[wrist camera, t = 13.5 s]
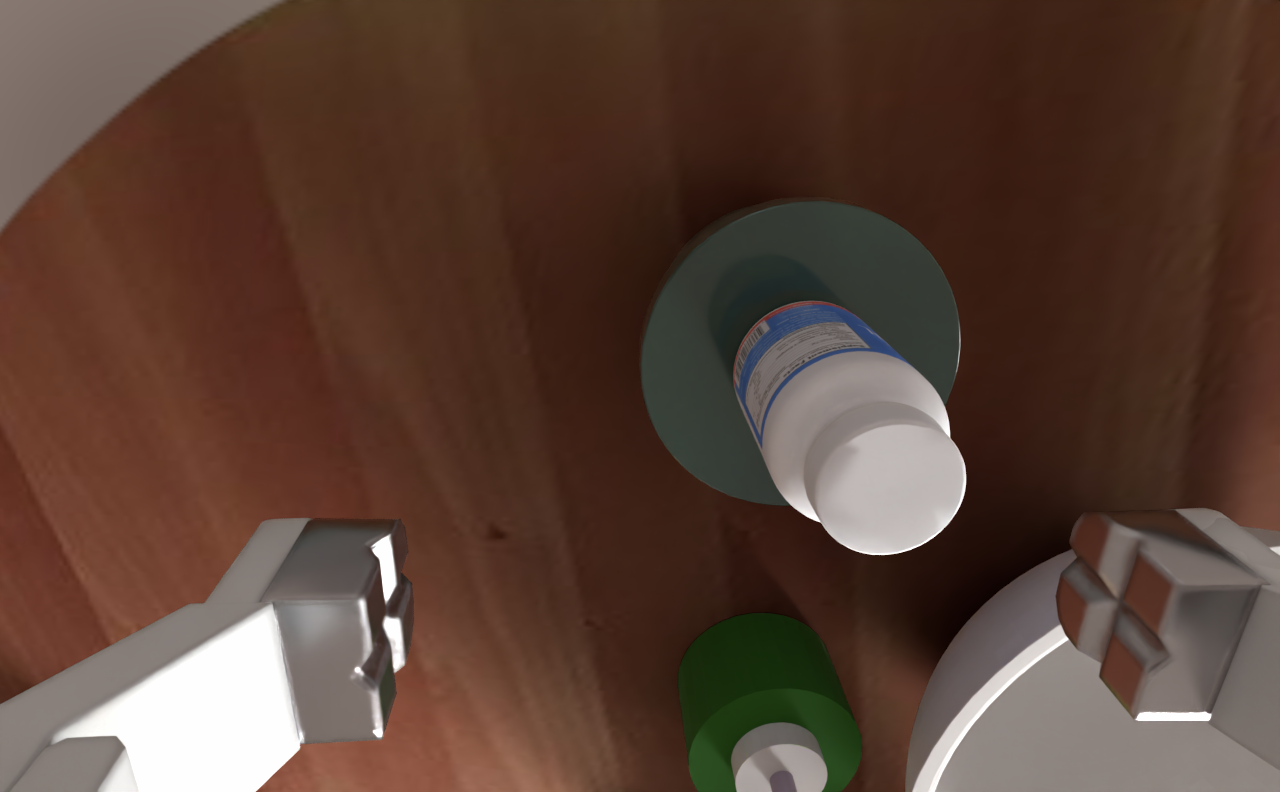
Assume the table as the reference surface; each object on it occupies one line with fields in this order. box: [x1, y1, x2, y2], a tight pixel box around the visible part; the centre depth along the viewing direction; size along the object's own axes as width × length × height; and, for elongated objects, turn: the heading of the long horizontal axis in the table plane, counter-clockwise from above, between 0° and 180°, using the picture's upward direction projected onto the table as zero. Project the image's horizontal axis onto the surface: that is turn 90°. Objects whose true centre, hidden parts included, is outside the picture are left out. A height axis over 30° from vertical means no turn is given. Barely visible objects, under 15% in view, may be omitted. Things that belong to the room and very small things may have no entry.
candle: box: [678, 613, 862, 792], centre depth 38 cm, size 8×8×10 cm
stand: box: [639, 196, 961, 506], centre depth 33 cm, size 12×12×6 cm
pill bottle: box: [733, 301, 966, 555], centre depth 25 cm, size 6×5×10 cm
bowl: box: [905, 527, 1280, 792], centre depth 39 cm, size 27×27×10 cm
